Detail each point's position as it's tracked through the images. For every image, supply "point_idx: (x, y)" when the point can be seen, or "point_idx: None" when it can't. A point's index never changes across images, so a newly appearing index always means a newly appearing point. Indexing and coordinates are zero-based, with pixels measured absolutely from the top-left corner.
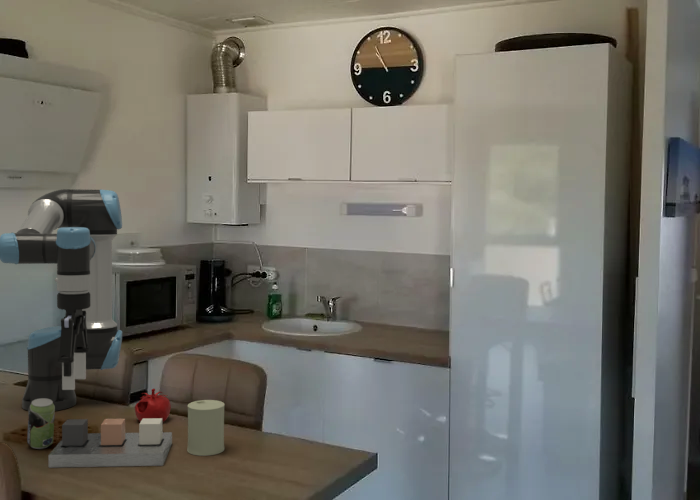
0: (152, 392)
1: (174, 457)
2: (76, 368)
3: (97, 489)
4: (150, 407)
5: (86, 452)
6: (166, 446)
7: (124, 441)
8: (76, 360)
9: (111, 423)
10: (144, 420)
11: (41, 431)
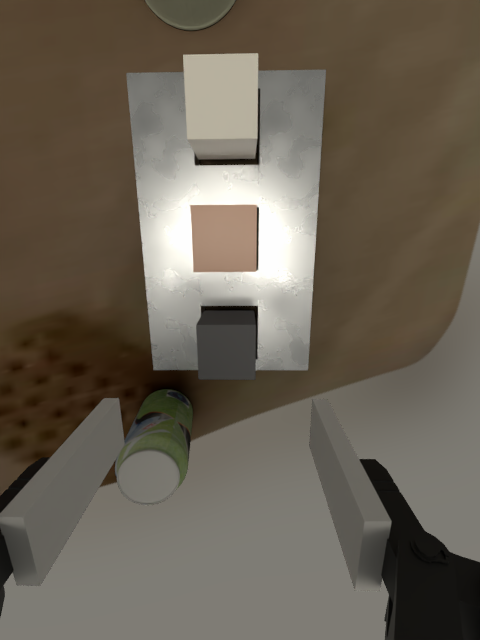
0: None
1: None
2: (97, 473)
3: (450, 226)
4: None
5: (299, 290)
6: None
7: None
8: (72, 515)
9: (244, 240)
10: (212, 127)
11: (189, 423)
